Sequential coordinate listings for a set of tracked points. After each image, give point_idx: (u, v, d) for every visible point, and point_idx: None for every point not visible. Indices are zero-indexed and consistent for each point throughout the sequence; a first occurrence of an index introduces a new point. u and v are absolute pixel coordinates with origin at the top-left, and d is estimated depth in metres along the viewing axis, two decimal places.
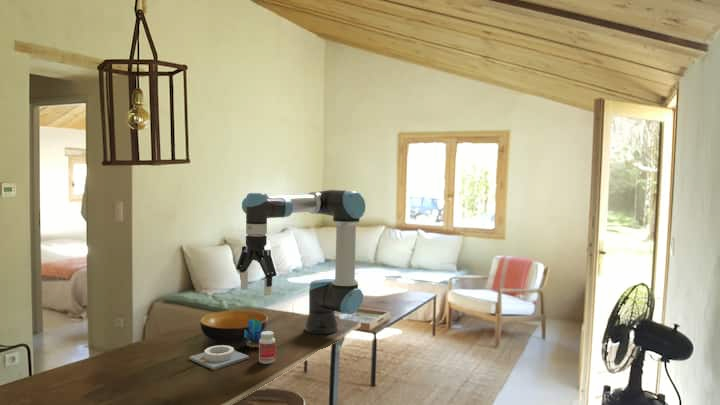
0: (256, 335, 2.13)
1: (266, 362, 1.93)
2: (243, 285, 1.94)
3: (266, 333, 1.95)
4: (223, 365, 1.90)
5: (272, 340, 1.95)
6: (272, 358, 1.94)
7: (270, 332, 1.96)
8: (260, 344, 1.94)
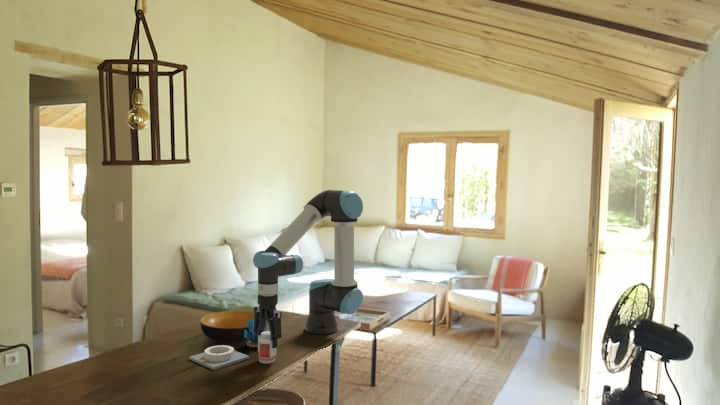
0: (256, 335, 2.13)
1: (266, 362, 1.93)
2: None
3: (266, 333, 1.95)
4: (223, 365, 1.90)
5: None
6: (272, 358, 1.94)
7: None
8: (260, 344, 1.94)
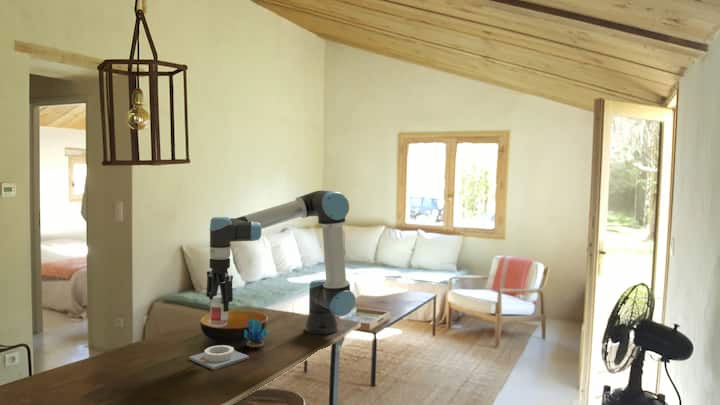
0: (256, 335, 2.13)
1: (217, 325, 1.94)
2: None
3: (218, 297, 1.95)
4: (223, 365, 1.90)
5: None
6: (223, 322, 1.95)
7: None
8: (211, 307, 1.94)
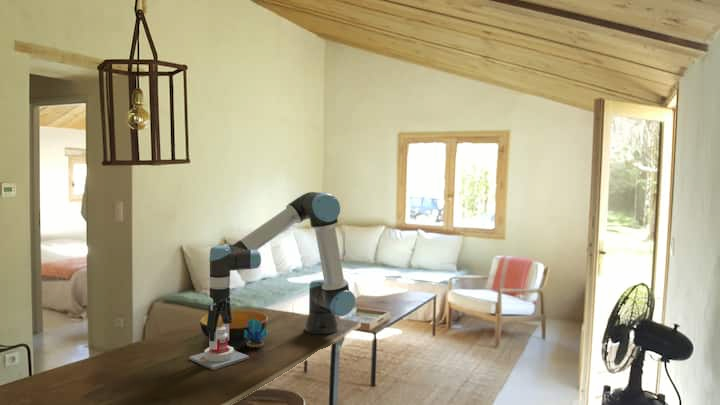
0: (256, 335, 2.13)
1: None
2: None
3: (216, 328, 1.97)
4: (223, 365, 1.90)
5: (217, 336, 1.95)
6: None
7: (221, 328, 1.96)
8: None
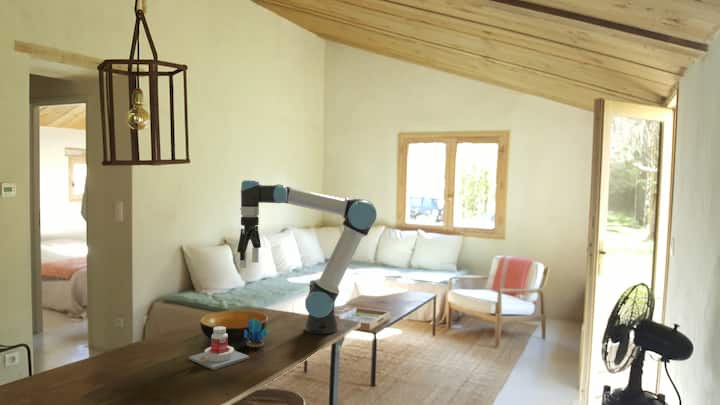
0: (256, 335, 2.13)
1: None
2: (253, 259, 2.29)
3: (216, 328, 1.97)
4: (223, 365, 1.90)
5: (217, 336, 1.95)
6: None
7: (221, 328, 1.96)
8: None
